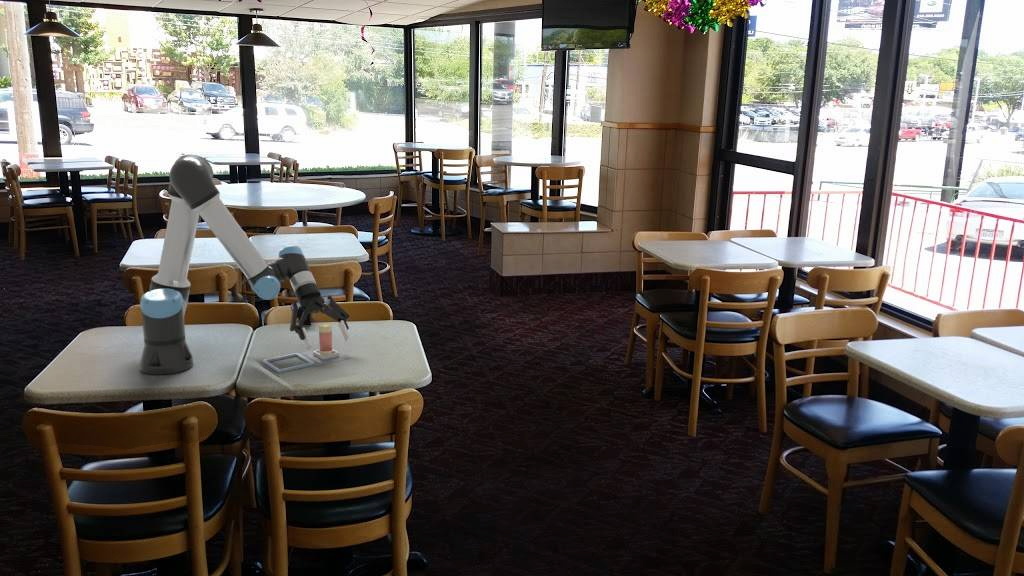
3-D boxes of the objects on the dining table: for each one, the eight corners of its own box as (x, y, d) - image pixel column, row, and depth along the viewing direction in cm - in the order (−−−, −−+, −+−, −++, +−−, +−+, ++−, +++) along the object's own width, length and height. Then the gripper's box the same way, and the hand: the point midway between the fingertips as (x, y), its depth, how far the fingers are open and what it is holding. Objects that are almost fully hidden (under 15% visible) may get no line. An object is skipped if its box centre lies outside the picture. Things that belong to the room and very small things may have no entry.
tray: (278, 377, 238) (278, 370, 238) (262, 366, 247) (261, 360, 246) (314, 369, 246) (314, 362, 245) (297, 359, 254) (297, 352, 254)
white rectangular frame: (322, 369, 246) (322, 360, 245) (301, 356, 256) (301, 349, 256) (351, 362, 253) (350, 354, 252) (329, 351, 263) (329, 343, 262)
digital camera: (297, 318, 299) (296, 300, 297) (312, 317, 300) (311, 299, 298) (295, 326, 289) (294, 307, 287) (310, 325, 290) (310, 307, 288)
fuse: (323, 358, 251) (322, 328, 249) (317, 354, 254) (316, 325, 252) (335, 355, 254) (334, 326, 251) (328, 352, 257) (328, 322, 254)
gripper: (335, 288, 269) (359, 341, 262) (266, 300, 253) (289, 356, 246) (343, 276, 264) (367, 330, 257) (272, 287, 248) (296, 345, 241)
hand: (329, 343), depth 252 cm, fingers open, 13 cm apart
